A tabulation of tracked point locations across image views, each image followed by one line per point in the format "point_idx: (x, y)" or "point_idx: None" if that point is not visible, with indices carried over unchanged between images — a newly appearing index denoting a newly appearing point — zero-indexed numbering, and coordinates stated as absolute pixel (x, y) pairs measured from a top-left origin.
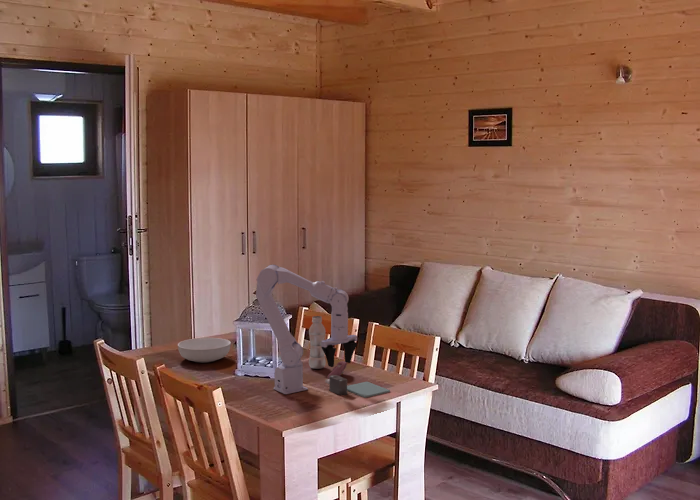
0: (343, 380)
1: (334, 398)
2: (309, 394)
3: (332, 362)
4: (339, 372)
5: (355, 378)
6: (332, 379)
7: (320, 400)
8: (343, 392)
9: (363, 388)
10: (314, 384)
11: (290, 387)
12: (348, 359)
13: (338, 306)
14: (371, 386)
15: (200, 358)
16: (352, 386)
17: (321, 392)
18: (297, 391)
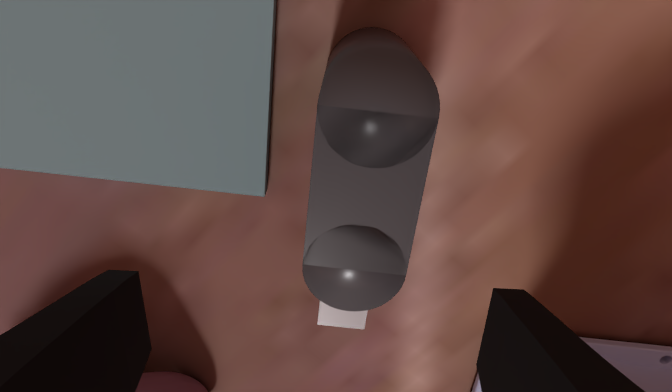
0: (394, 77)
1: (528, 21)
2: (572, 250)
3: (575, 334)
4: None
5: (17, 302)
6: (412, 229)
7: (660, 69)
8: (398, 37)
9: (128, 21)
10: (359, 380)
11: (649, 387)
12: (111, 326)
13: None
14: (16, 15)
15: None
16: (182, 143)
17: (467, 226)
18: (590, 339)
